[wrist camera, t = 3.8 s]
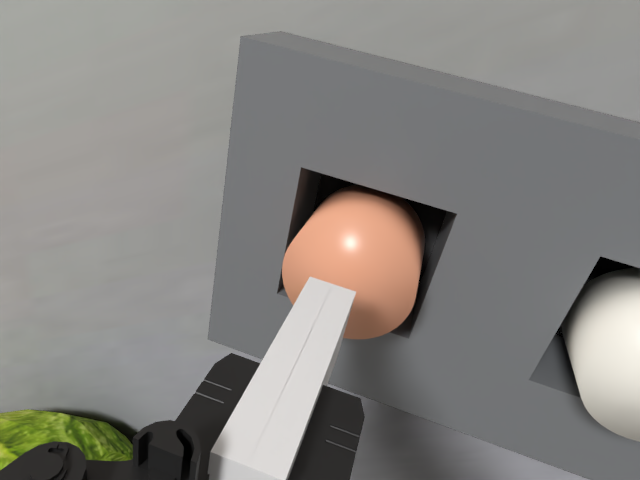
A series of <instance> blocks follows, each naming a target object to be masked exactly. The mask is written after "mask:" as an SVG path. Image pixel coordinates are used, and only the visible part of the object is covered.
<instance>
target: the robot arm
mask: <svg viewBox="0 0 640 480" xmlns="http://www.w3.org/2000/svg"><path fill="white" fill-rule="evenodd" d="M355 295H356V291H353V290H350V289H346V288H343V287H340V286H337V285H334V284H331V283H328V282H325V281H322V280H319V279H316V278H313V277H309V279H308V281H307V282H306V284H305V286H304V288H303V289H302V291H301V293H300V295H299V296H298V298H297V300H296V302H295V304H294V305H293V307H292V309H291V311H290V312H289V314H288V316H287V318H286V319H285V321H284V323H283V325H282V326H281V328H280V330H279V332H278V333H277V335H276V337H275V339H274V341H273V342H272V344H271V346H270V348H269V349H268V351H267V353H266V355H265V356H264V358H263V360H262V362H261V363H257V362H255V361H252V360H249V359H246V358H244V357H241V356H238V355H235V354H233V353H231V354H229V355H228V356H226V357H224V358H223V359H221V360H220V361H218V362H217V363H215V364H214V366H213V367H212V369H211V370H210V372H209V373H208V374H207V376H206V377H205V379H204V381H203V382H202V383H201V384H200V386H199V387H198V389H197V390H196V393H195V394H194V395H193V396H192V397H191V399H190V400H189V402H188V403H187V405H186V406H185V408H184V409H183V410H182V412H181V413H180V415H179V416H178V418H177V419H176V421H171V420H168V421H161V422H155V423H153V424H151V425H149V426H146V427H144V428H143V429H142V430H140V431H139V432H138V433H137V434H136V435H135V436H134V437H133V459H131V460H127V461H102V460H86V459H85V455H84V454H83V452H82V451H81V450H80V448H79V447H77V446H75V445H73V444H71V443H69V442H57V441H53V442H49V443H45V444H41V445H38V446H36V447H34V448H32V449H31V450H29V451H27V452H25V453H24V454H22V455H21V456H19V457H18V458H17V459H15V460H14V461H13V462H11V463H10V464H8V465H7V466H6V467H4V468H3V469H2V470H0V480H349V479H350V475H351V471H352V467H353V463H354V459H355V454H356V450H357V446H358V442H359V437H360V434H361V430H362V425H363V421H364V412H363V408H362V403H361V399H360V398H358V397H355V396H352V395H349V394H347V393H344V392H341V391H338V390H336V389H333V388H330V387H327V384H328V381H329V378H330V376H331V373H332V370H333V367H334V365H335V362H336V359H337V356H338V353H339V349H340V346H341V342H342V339H343V335H344V332H345V329H346V325H347V322H348V318H349V315H350V312H351V308H352V305H353V301H354V298H355Z"/></svg>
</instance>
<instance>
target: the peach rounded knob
mask: <svg viewBox="0 0 640 480" xmlns="http://www.w3.org/2000/svg"><path fill="white" fill-rule="evenodd" d="M424 249H425V235H424V229H423V226H422V223H421V221H420V219H419V217H418V215H417V214H416V212H415V211H414V209H413V208H412V207H411V206H410V205H409V203H407V202H406V201H405V200H404V199H403V198H402V197H399V196H396V195H393V194H389V193H386V192H382V191H379V190H376V189H372V188H369V187H366V186H362V185H352V186H348V187H344V188H341V189H339V190H337V191H335V192H333V193H332V194H330V195H329V196H328V197H327V198H325V199H324V200H323V201H322V203H321V204H320V205H319V206H318V208H317V209H316V210H315V212H314V213H313V214H312V216H311V217H310V218H309V219H308V221H307V222H306V223H305V225H304V226H303V227H302V229H301V230H300V231H299V233H298V234H297V235H296V237H295V238H294V239H293V241H292V242H291V244H290V245H289V247H288V249H287V251H286V253H285V256H284V259H283V265H282V278H283V284H284V287H285V291H286V293H287V295H288V297H289V299H290V301H291V303H292V304H293V305H294V304H295V302H296V300H297V298H298V296H299V295H300V293H301V291H302V289H303V288H304V286H305V284H306V282H307V281H308V279H309V277H313V278H316V279H319V280H322V281H325V282H328V283H331V284H334V285H337V286H340V287H343V288H346V289H350V290H353V291H356V295H355V298H354V301H353V305H352V308H351V312H350V315H349V318H348V322H347V325H346V329H345V332H344V335H343V338H347V339H370V338H375V337H378V336H382V335H384V334H386V333H389V332H390V331H392V330H394V329H395V328H397V327H398V326H399V325H400V324H401V323H402V322H403V321H404V320H405V319H406V318H407V316H408V315H409V313H410V312H411V310H412V308H413V305H414V302H415V299H416V294H417V288H418V283H419V277H420V272H421V266H422V260H423V255H424Z"/></svg>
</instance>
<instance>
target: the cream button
mask: <svg viewBox="0 0 640 480" xmlns="http://www.w3.org/2000/svg"><path fill="white" fill-rule="evenodd" d="M561 329H562V334H563V337H564V341H565V344H566V348H567V351H568V355H569V358H570V361H571V365H572V368H573V372H574V375H575V379H576V382H577V385H578V389H579V392H580V396H581V399H582V401H583V404H584V406H585V408H586V409H587V411H588V412H589V414H590V415H591V416H592V417H593V418H594V419H595V420H596V421H597V422H598V423H600V424H601V425H602V426H604V427H605V428H607V429H608V430H610V431H612V432H614V433H616V434H618V435H620V436H623V437H625V438H628V439H632V440H635V441H639V442H640V268H626V269H621V270H615V271H612V272H608V273H605V274H603V275H600V276H598V277H596V278H594V279H592V280H590V281H589V282H587V283H586V284H584V285H583V287H582V289H581V290H580V292H579V294H578V296H577V297H576V299H575V301H574V303H573V304H572V306H571V308H570V309H569V311H568V313H567V315H566V316H565V318H564V320H563V321H562V323H561Z"/></svg>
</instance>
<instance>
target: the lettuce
mask: <svg viewBox="0 0 640 480" xmlns="http://www.w3.org/2000/svg"><path fill="white" fill-rule="evenodd" d="M53 441H57V442H69V443H71V444H73V445H75V446H77V447H79V448H80V450H81V451H82V452H83V454H84V455H85V459H86V460H102V461H127V460H131V459H133V445H132V444H131V442H130V441H129V440H128V439H127V437H126V436H124V435H123V434H122V433H120V432H119V431H118V430H116V429H115V428H114V427H112V426H111V425H110V424H108V423H106V422H102V421H97V420H92V419H88V418H83V417H78V416H73V415H68V414H63V413H56V412H48V411H39V410H28V409H27V410H20V411H13V412H6V413H0V470H2V469H3V468H4V467H6V466H7V465H8V464H10V463H11V462H13V461H14V460H15V459H17V458H18V457H19V456H21V455H22V454H24V453H25V452H27V451H29V450H31V449H32V448H34V447H36V446H38V445H41V444H45V443H49V442H53Z"/></svg>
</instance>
